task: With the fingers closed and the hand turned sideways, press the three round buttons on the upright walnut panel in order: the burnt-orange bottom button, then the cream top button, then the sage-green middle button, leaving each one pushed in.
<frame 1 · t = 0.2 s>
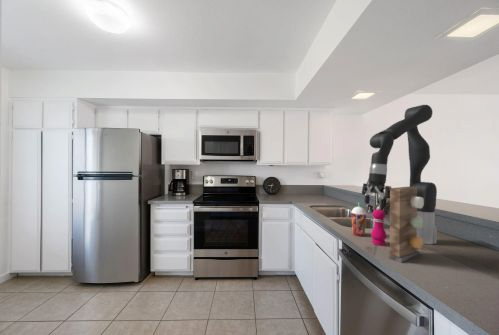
hand: (374, 205, 108), 22 cm above the counter, tool pointing down, fingers open, 8 cm apart
sage button: (417, 222, 95), point 17 cm above the counter, slide at 0.0 cm
pepper mill: (378, 244, 116), on the counter
cream button: (417, 202, 95), point 26 cm above the counter, slide at 0.0 cm
walnut button panel: (408, 257, 98), on the counter
smoothie: (358, 235, 131), on the counter
orange button: (416, 242, 96), point 8 cm above the counter, slide at 0.0 cm
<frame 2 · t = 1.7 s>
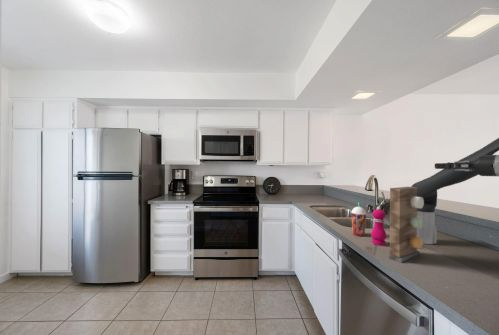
hand: (439, 166, 88), 42 cm above the counter, tool horizontal, fingers open, 8 cm apart
nothing on the counter moved.
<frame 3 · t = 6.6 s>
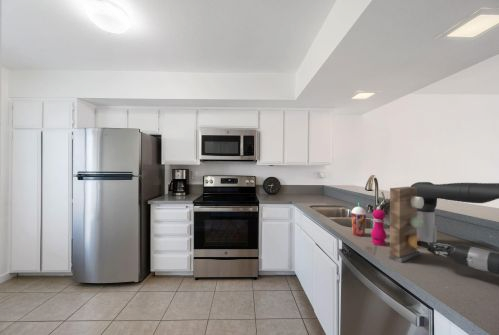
hand: (417, 242, 95), 8 cm above the counter, tool horizontal, fingers closed
orange button: (413, 241, 97), point 8 cm above the counter, slide at 1.1 cm, touching gripper
everything else where it was.
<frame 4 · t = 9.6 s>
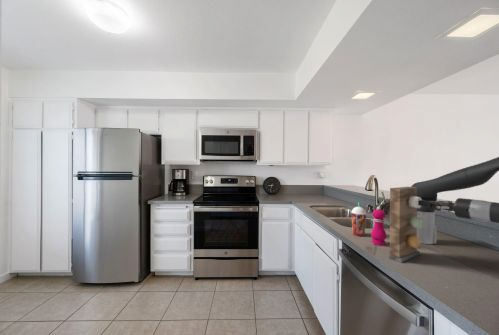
hand: (419, 202, 95), 26 cm above the counter, tool horizontal, fingers closed
cream button: (415, 202, 96), point 26 cm above the counter, slide at 0.7 cm, touching gripper
orange button: (413, 241, 97), point 8 cm above the counter, slide at 1.2 cm
everything else where it was.
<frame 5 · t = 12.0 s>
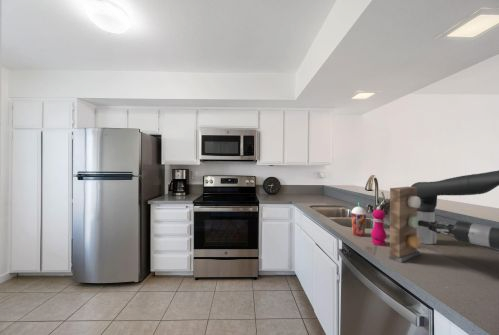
hand: (418, 222, 95), 17 cm above the counter, tool horizontal, fingers closed
sage button: (414, 222, 96), point 17 cm above the counter, slide at 0.8 cm, touching gripper
cream button: (414, 201, 96), point 26 cm above the counter, slide at 1.2 cm
everything else where it was.
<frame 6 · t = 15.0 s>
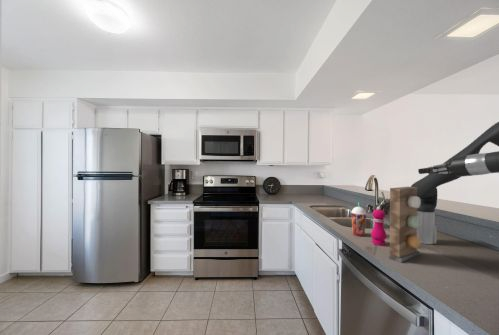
hand: (419, 171, 93), 40 cm above the counter, tool horizontal, fingers closed
sage button: (413, 221, 97), point 17 cm above the counter, slide at 1.2 cm
everything else where it was.
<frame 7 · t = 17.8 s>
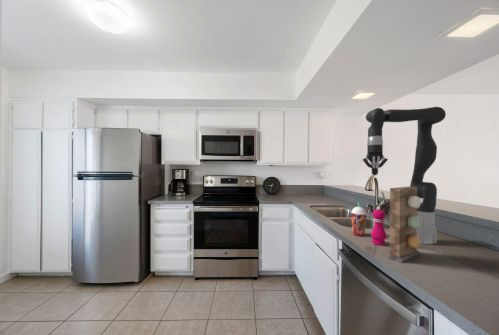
hand: (374, 175, 122), 37 cm above the counter, tool pointing down, fingers closed
nothing on the counter moved.
at the end: orange button slide at 1.2 cm; cream button slide at 1.2 cm; sage button slide at 1.2 cm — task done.
